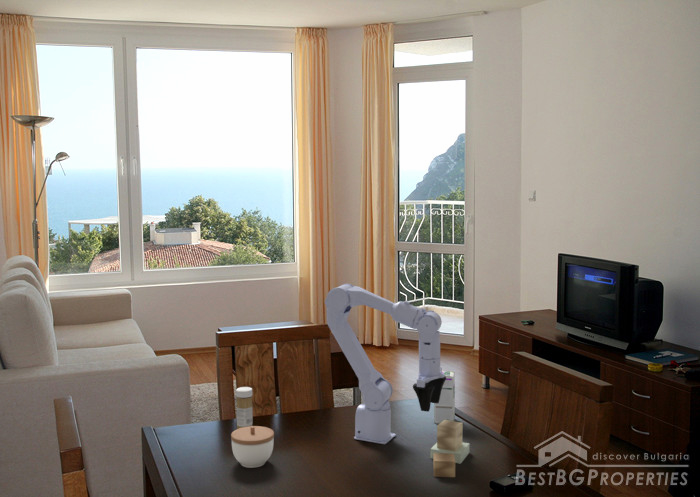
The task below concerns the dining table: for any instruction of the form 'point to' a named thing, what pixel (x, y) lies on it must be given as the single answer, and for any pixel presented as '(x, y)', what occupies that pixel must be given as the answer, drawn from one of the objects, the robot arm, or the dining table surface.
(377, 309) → the robot arm
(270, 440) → the lidded jar
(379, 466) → the dining table surface
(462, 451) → the plinth block
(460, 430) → the maple block
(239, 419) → the sprinkles bottle
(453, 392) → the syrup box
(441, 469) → the oak block
